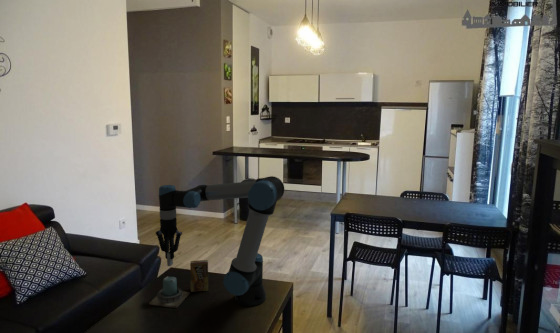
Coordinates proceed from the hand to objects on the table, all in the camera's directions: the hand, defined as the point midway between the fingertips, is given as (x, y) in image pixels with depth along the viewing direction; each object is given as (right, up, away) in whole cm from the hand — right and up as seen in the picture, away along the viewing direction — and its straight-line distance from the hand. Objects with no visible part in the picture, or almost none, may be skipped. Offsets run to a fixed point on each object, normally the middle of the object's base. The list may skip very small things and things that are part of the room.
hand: (170, 265), depth 182 cm
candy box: (+11, -16, +13) cm, 24 cm away
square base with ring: (-1, -17, +3) cm, 18 cm away
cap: (-1, -16, +3) cm, 17 cm away
